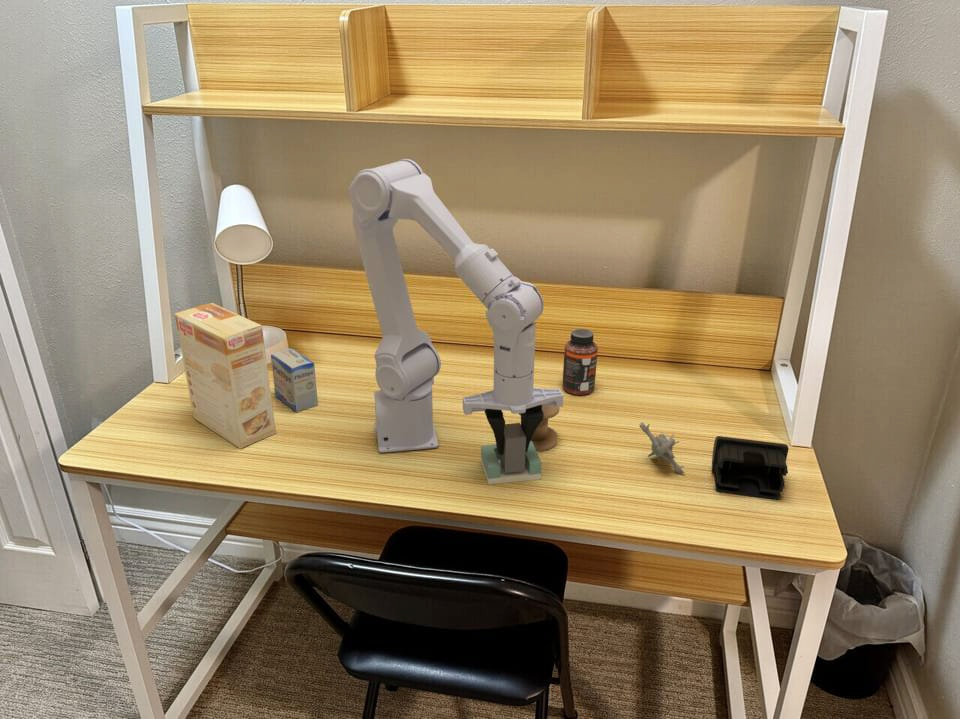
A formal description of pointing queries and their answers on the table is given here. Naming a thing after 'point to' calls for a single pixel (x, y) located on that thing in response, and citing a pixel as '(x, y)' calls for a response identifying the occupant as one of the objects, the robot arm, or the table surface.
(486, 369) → the table surface
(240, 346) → the coffeecake box
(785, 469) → the end cap
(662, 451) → the grey animal figure
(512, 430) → the plug
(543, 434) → the bobbin
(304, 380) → the medicine box
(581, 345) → the supplement bottle
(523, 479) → the notch board
